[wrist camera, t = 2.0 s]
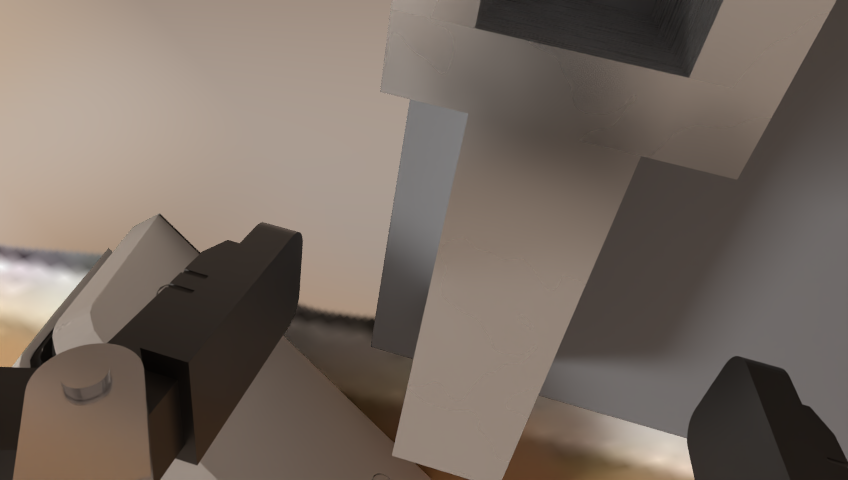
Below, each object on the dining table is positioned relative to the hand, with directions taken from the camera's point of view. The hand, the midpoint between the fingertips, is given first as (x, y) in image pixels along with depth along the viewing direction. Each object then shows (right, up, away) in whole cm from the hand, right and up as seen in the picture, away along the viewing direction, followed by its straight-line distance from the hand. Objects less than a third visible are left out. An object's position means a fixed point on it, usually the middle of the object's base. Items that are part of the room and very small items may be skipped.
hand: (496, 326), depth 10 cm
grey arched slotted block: (-7, -4, +13) cm, 15 cm away
